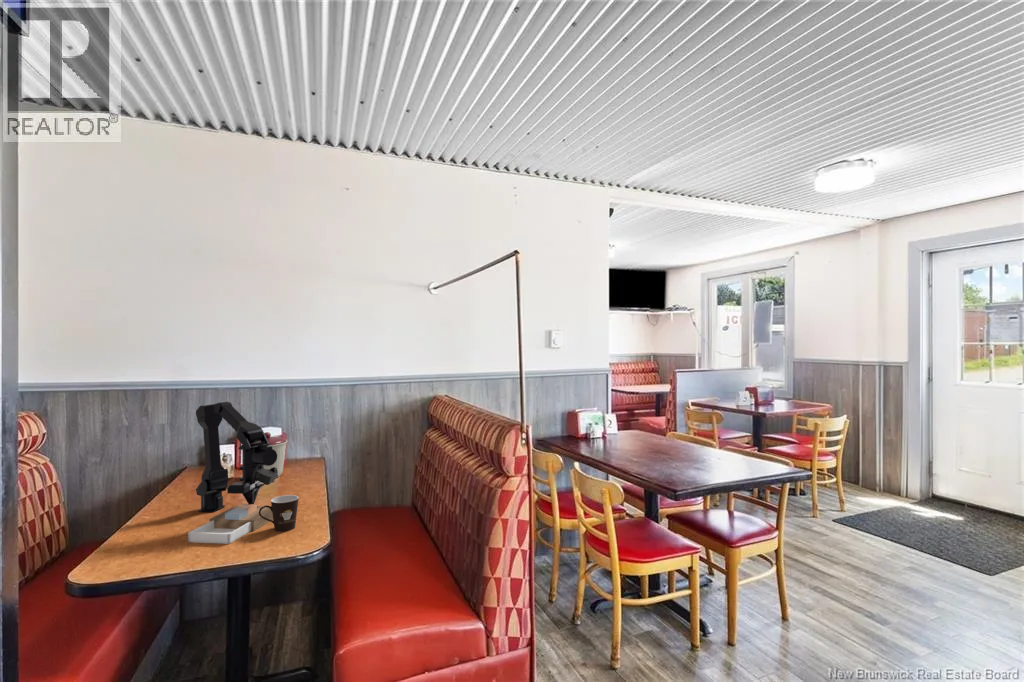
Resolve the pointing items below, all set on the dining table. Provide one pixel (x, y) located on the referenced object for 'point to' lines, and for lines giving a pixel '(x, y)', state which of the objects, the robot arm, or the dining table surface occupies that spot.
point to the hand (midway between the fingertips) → (251, 506)
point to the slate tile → (236, 514)
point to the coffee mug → (283, 512)
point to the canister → (277, 451)
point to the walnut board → (243, 519)
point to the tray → (217, 534)
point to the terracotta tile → (248, 507)
